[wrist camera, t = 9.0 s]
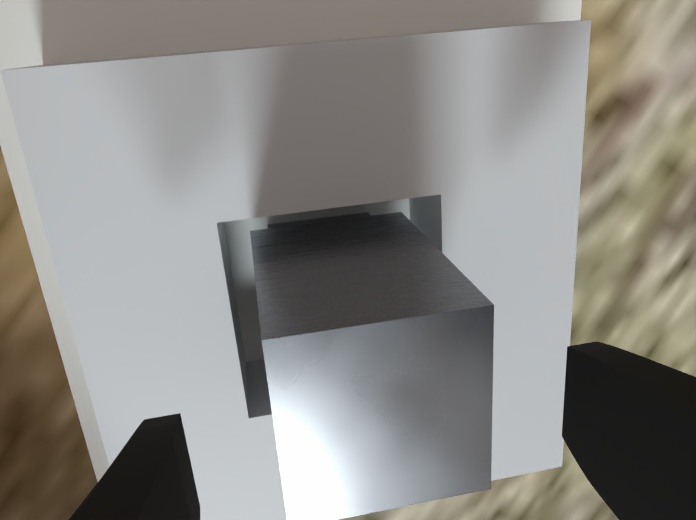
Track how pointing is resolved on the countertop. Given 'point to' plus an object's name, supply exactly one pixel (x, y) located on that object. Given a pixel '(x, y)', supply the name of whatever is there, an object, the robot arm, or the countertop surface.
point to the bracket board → (286, 195)
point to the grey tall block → (372, 365)
